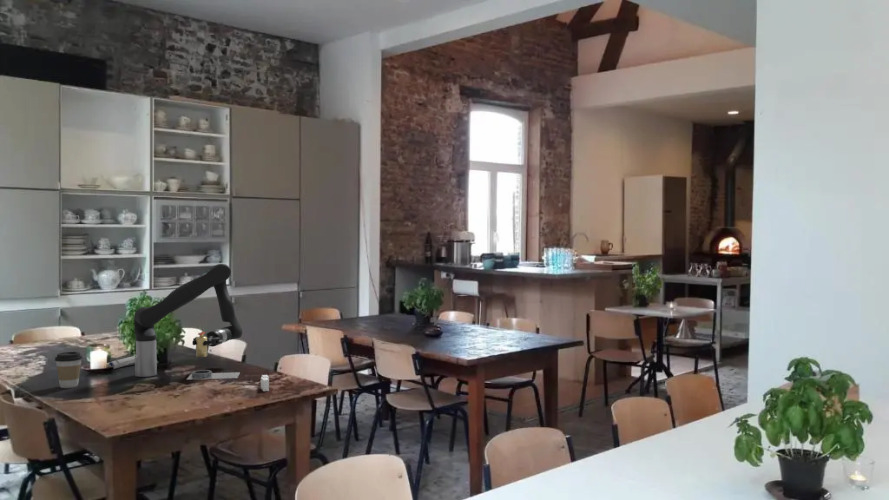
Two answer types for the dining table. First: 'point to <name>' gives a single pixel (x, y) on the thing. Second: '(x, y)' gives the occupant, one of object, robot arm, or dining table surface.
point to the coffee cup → (68, 368)
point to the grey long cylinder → (122, 362)
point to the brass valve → (201, 345)
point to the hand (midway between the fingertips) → (198, 343)
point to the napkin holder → (265, 383)
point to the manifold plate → (211, 375)
